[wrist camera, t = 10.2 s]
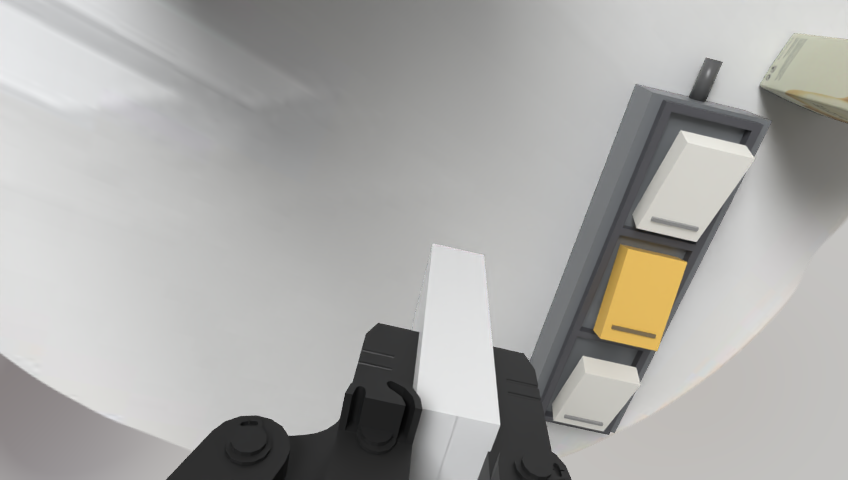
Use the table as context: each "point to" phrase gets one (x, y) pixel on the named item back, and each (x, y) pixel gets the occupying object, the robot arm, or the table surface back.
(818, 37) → the skincare box
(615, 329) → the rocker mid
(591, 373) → the rocker
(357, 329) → the table surface
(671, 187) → the block
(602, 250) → the power strip
